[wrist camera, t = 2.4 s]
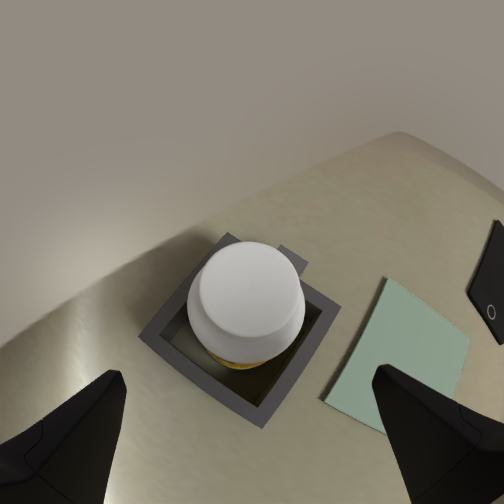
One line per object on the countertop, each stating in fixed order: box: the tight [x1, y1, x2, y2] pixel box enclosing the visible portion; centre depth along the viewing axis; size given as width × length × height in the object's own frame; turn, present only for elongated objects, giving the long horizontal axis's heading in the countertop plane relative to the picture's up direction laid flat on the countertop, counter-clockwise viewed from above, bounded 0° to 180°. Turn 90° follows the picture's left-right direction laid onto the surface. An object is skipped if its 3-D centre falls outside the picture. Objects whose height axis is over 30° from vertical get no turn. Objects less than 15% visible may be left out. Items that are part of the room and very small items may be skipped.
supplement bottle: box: [187, 242, 305, 369], centre depth 15 cm, size 6×6×10 cm
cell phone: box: [467, 220, 504, 345], centre depth 23 cm, size 9×18×1 cm, turn 128°
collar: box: [138, 232, 341, 429], centre depth 18 cm, size 11×10×3 cm
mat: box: [323, 277, 470, 435], centre depth 18 cm, size 12×12×1 cm
